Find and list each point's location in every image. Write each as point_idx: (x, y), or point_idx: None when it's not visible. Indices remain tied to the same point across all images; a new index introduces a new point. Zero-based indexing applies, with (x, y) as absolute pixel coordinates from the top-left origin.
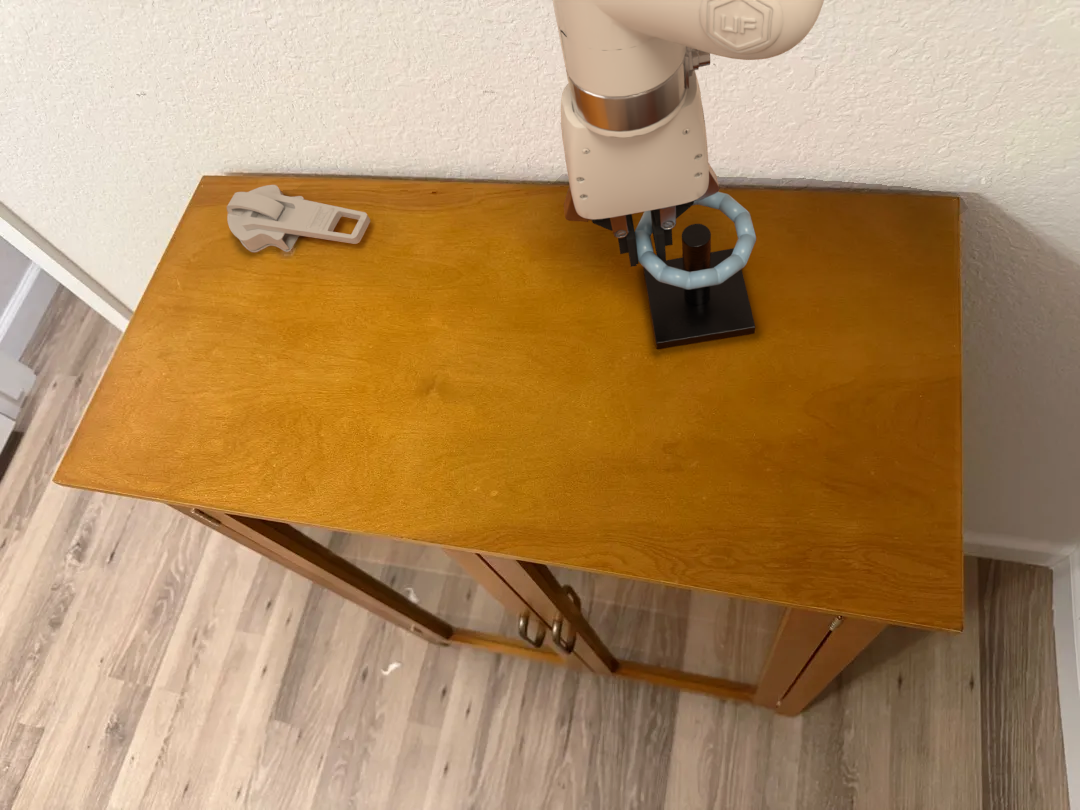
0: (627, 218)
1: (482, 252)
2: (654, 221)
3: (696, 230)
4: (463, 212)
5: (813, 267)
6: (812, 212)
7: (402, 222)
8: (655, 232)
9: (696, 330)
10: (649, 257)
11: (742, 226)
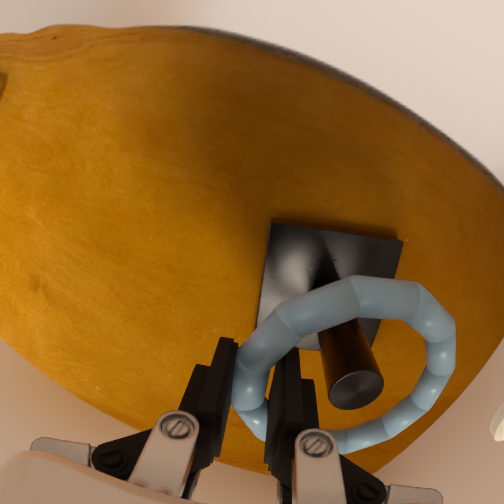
0: (202, 459)
1: (74, 125)
2: (272, 450)
3: (362, 383)
4: (69, 63)
5: (454, 284)
6: (484, 212)
7: (23, 76)
8: (265, 463)
9: (306, 342)
10: (250, 421)
11: (429, 397)
